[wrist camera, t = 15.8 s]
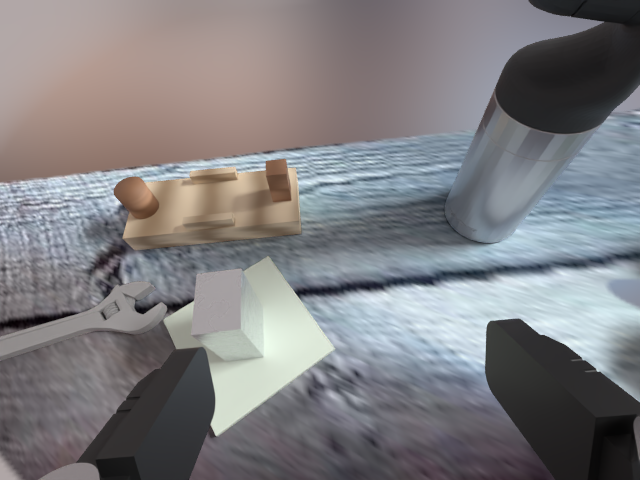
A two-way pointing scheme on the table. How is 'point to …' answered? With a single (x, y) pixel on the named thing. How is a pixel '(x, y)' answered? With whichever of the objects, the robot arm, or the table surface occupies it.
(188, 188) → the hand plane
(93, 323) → the adjustable wrench
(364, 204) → the table surface
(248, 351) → the grey block
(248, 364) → the mat
